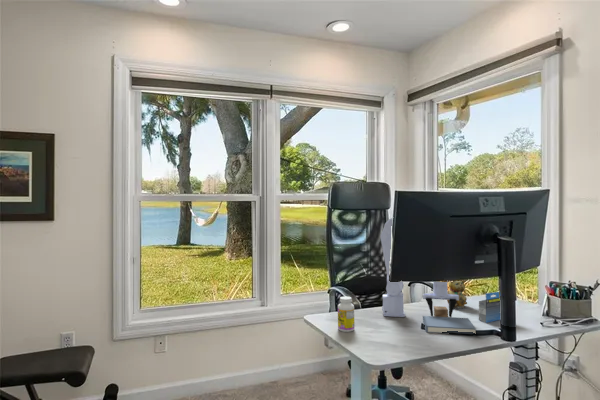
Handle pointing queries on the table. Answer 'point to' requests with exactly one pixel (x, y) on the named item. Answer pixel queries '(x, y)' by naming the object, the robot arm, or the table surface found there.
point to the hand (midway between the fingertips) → (440, 316)
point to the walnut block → (440, 311)
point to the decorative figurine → (458, 293)
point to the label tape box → (489, 308)
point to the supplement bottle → (346, 314)
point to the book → (447, 324)
